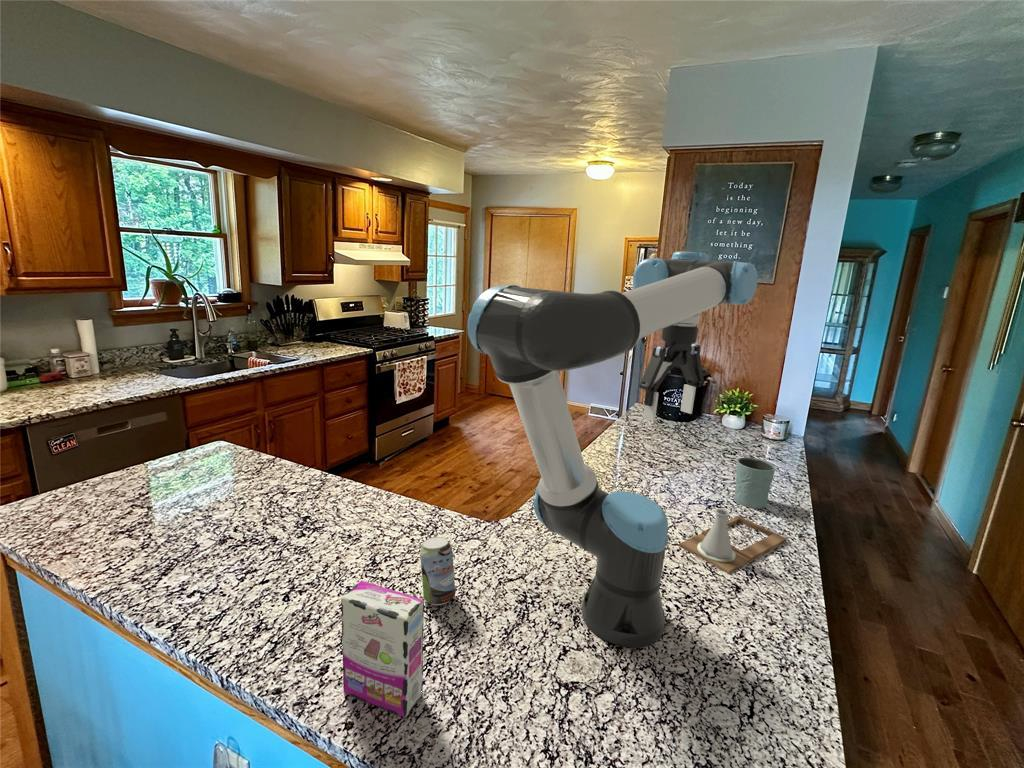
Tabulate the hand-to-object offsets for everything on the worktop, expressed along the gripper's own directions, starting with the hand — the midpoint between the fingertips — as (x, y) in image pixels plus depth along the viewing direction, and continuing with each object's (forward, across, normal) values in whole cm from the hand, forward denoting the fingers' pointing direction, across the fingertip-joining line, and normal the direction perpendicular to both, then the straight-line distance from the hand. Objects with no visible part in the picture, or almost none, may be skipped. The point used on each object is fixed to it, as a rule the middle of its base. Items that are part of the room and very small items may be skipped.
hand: (668, 415), depth 115 cm
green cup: (+32, +43, -1) cm, 54 cm away
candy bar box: (+32, -72, -8) cm, 79 cm away
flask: (+31, +8, -12) cm, 34 cm away
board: (+32, +16, -12) cm, 38 cm away
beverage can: (+32, -55, +7) cm, 64 cm away
